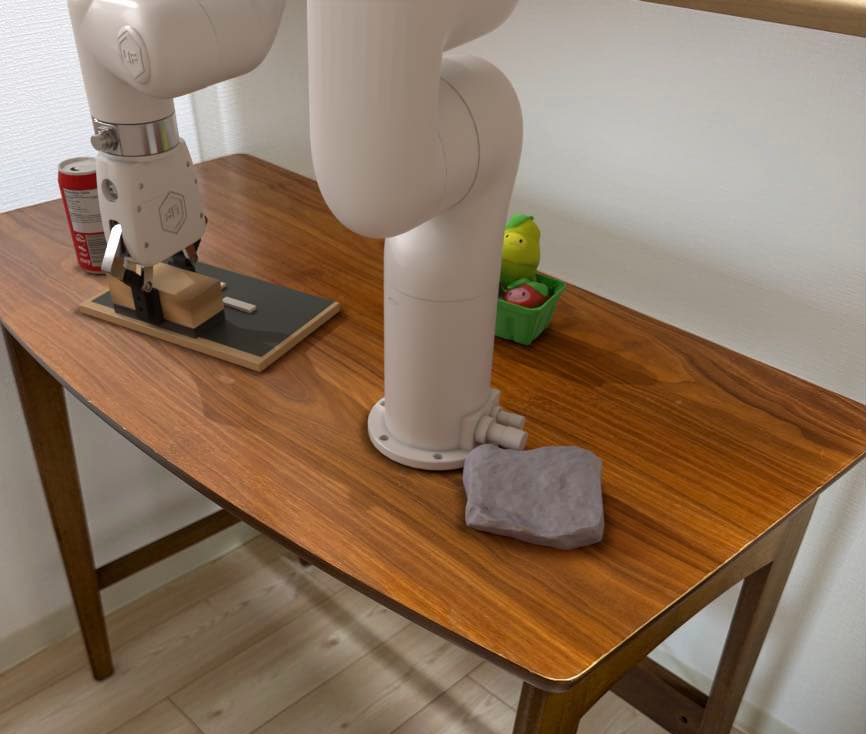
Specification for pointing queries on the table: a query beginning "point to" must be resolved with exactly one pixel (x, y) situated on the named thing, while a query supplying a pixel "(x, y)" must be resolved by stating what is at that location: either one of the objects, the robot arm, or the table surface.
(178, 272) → the eraser
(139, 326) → the chalkboard
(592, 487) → the stone block
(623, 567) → the table surface
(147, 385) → the table surface
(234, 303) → the white chalk stick
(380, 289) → the table surface
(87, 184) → the soda can
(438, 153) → the robot arm
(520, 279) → the fruit basket
